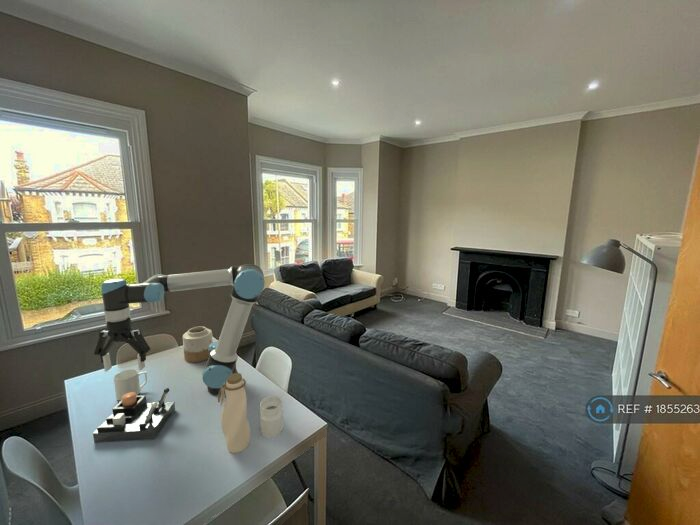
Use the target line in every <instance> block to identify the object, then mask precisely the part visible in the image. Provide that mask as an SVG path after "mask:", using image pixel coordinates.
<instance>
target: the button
mask: <svg viewBox="0 0 700 525" xmlns="http://www.w3.org/2000/svg"><path fill="white" fill-rule="evenodd" d="M137 396H138V395H137ZM137 396H136V393H135V392H130V393H127V394H125V395H123V396H122V406H123V407H131V406H134V405H135V404H136V403H137Z"/></svg>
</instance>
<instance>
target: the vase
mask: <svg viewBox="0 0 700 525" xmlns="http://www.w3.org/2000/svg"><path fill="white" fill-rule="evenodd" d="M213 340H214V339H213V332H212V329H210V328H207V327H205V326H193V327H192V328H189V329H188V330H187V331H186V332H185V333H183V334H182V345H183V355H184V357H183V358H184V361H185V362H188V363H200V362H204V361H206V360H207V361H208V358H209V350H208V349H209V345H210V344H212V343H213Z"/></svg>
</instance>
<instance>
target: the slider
mask: <svg viewBox="0 0 700 525" xmlns="http://www.w3.org/2000/svg"><path fill="white" fill-rule="evenodd" d="M124 423H125V414H124V413H118V414H117V415H116V416H115V417H114V418H113V425H124Z"/></svg>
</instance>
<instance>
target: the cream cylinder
mask: <svg viewBox="0 0 700 525" xmlns="http://www.w3.org/2000/svg"><path fill="white" fill-rule="evenodd" d="M259 404H260V405H259V412H260V414H259V415H260V422H259V423H260V425H259V426H260V434H261V435H262V436H263V437H266V438H273V436H274V437H276V436H279V434H281V432H282V431H283V426H284V424H283V423H284V422H283V421H284V416H283V400H282V398H281V397H280V396H278V395H269V396H267V397H264V398H263V399H261V401H260V402H259Z"/></svg>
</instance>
